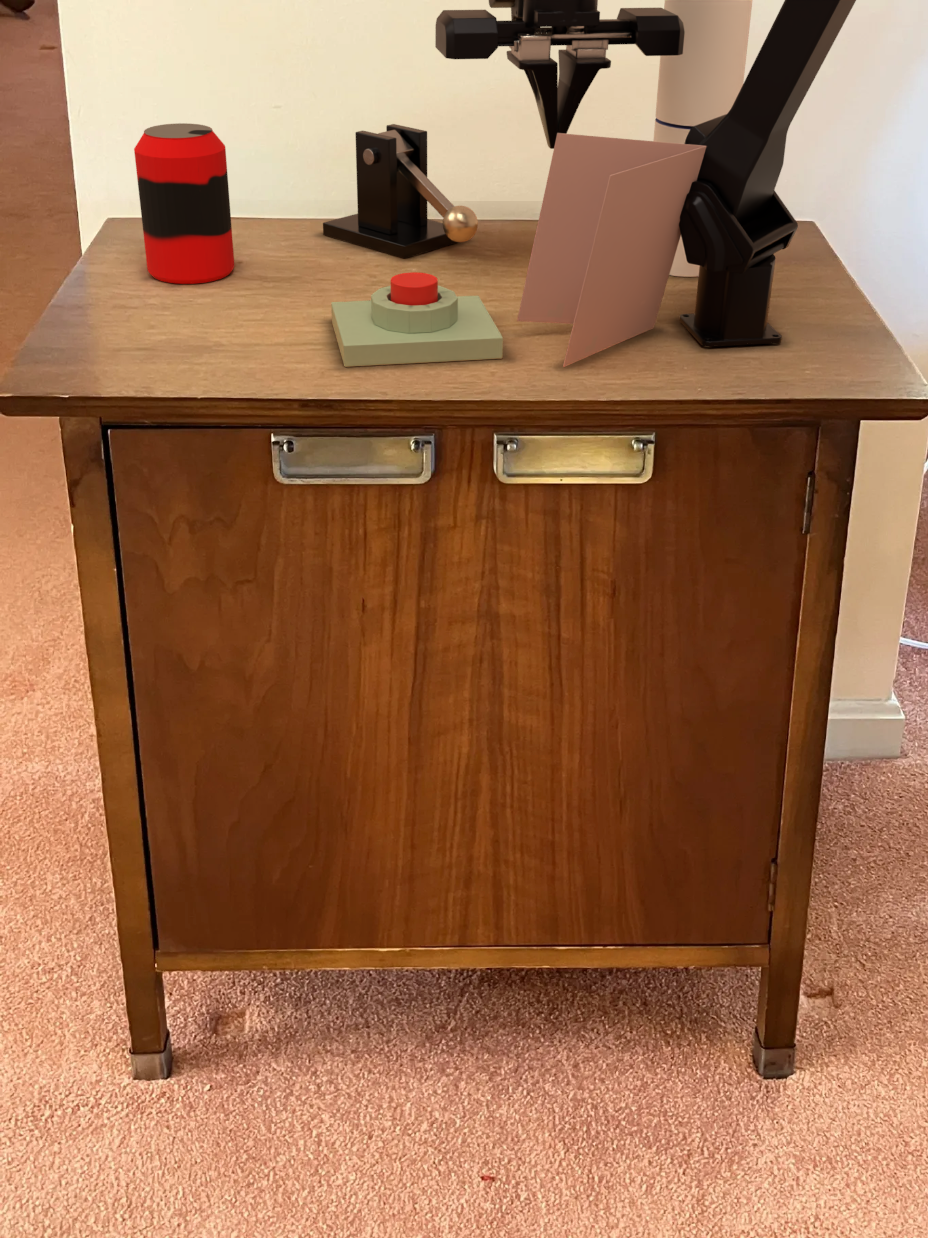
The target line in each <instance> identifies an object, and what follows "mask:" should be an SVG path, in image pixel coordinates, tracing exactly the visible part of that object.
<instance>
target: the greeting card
mask: <svg viewBox="0 0 928 1238" xmlns="http://www.w3.org/2000/svg"><path fill="white" fill-rule="evenodd" d="M705 150H706V146H702V145H690V144H679V143H667V142H656V141H654V140H642V139H630V138H619V137H607V136H598V135H597V136H596V135H584V134H573V133H567V134H563V133H557V137H556V142H555V146H554V149H553V150H552V151H553V152H552V156H551V161H550V166H549V169H548V175H547V180H546V184H545V189H544V193H543V197H542V203H541V208H540V211H539V216H538V221H537V226H536V231H535V235H534V240H533V245H532V249H531V254H530V259H529V262H528V263H529V264H528V268H527V273H526V277H525V282H524V287H523V290H522V295H521V300H520V306H519V310H518V314H517V319H516V321H517V322H525V323H528V322H529V323H547V324H563V325H564V324H566V325H567V324H568V325H572V329H571V332H570V336H569V341H568V343H567V349H566V353H565V356H564V361H563V365H562V368H565V367H568V366H569V365H572V364H574V363H576V362H579V361H581V360H583V359H586V358H588V357H590V356H592V355H593V356H594V354H597V353H600V352H602V351H604V350H607V349H609V348H610V347H611V348H612V347H613V346H615V345H618V344H621V343H622V342H625V341H627V340H630V339H632V338H634V337H636V336H639V335H641V334H643V333H646V332H648V331H650V330H652V329H654V328H655V325H656V322H657V319H658V315H659V311H660V309H661V305H662V301H663V298H664V295H665V292H666V291H665V290H666V289H667V284H668V280H669V277H670V275H669V274H670V271H671V267H672V264H673V260H674V257H675V253H676V250H677V246H678V243H679V239H680V236H681V232H680V228H679V222H680V215H681V211H682V208H683V205H684V202H685V199H686V196H687V194H688V193H689V190H690V187H691V184H692V182H694V181H697V177H698V174H699V170H700V167H701V164H702V160H703V157H704V153H705Z"/></svg>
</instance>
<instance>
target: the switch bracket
mask: <svg viewBox="0 0 928 1238" xmlns="http://www.w3.org/2000/svg"><path fill="white" fill-rule="evenodd" d="M385 127H386V131H391V130H396V131H397V132H398V133H399V134H400V135H401V136H402V138H403V139H404V140H405V141H406V142H407V143H408V144H409V145H410V146H411V147H412V148H413V152H412V154H411V157H410V160H411V161H412V162H413V163H414V164H415V165H416V166H417V167H418V169H419V170H420V171H421V172H422V173H423V174H424V175H425V176H426V177H427V178H428V131H427V130H424V129H419V128H414V127H409V126H405V125H400V124H396V123H392V124H387V125H386V126H385ZM354 133H355V134H354V135H355V162H356V164H355V165H356V166H355V167H356V168H355V169H356V197H357V198H356V201H357V204H356V205H357V213H355V214H350V215H346V216H344V217H339V218H335V219H331V220H328V221H324V222H322V234H323V236H325V237H329V238H333V239H336V240H340V241H343V242H347V243H350V244H354V245H357V246H361V247H363V248H367V249H370V250H374V251H377V252H381V253H384V254H388V255H390V256H393V257H398V258H400V259H401V258H402V259H405V260H406V259H408V258H412V257H414V256H415V257H416V256H418V255H422V254H425V253H429V252H433V251H434V250H438V249H442V248H445V247H448V246H451V245H454V244H459V242H455V241H453V240H451V239H450V238H448V237H447V235H446V234H445V232H444V230H443V222H439V221H435V220H432V219H428V201H427V200H426V199H425V198H424V197H423V196H422V195H421V194H420V192H419V191H418V190H417V189H416V188H415V187H414V186H413V185H412V184H411V183H410V182H409V181H408V180H407V179H406V178H405V177H404V176H403V174H402V173H401V172H400V171H398V172H397V144H396V138H394V137H390V136H385V135H381V134H378V133H376V132H371V131H366V130H358V131H356V132H354Z"/></svg>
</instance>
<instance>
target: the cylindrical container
mask: <svg viewBox="0 0 928 1238" xmlns="http://www.w3.org/2000/svg"><path fill="white" fill-rule="evenodd" d="M752 7H753V0H664V7H663V9H665V10H667V11H669V12H671V13H674V14H676V15H678V17H679V18H680V19H681V21H682V22H683V25H684V31H685V34H684V45H683V54H681V55H675V56H659V66H658V67H659V68H658V82H657V92H656V93H657V94H656V107H655V120H654V130H653V141H656V142H667V143H679V144H684V143H685V140H686V137H687V135H688V133H689V131H690V129H691V127H693V126H695V125H698V124H701V123H704V122H706V121H709V120H712V119H714V118H717V117H720V116H722V115H725V114H727V113H728V112H729V111H730V109H731V108H732V106H733V104H734V102H735V100H736V98H737V96H738V94H739V92H740V90H741V88H742V86H743V84H744V82H745V72H746V71H745V70H746V64H747V63H746V62H747V54H748V44H749V36H750V35H749V34H750V25H751V17H752ZM699 267H700V266H699V265H694V264H689V263H688V262H687V259H686V255H685V250H684V246H683V241H682V237H681V236H680V239H679V243H678V246H677V250H676V253H675V257H674V260H673V264H672V267H671V271H670V274H669V276H675V277H682V278H683V277H685V278H686V277H687V278H688V277H691V278H694V277H696V278H697V277H698V276H699Z"/></svg>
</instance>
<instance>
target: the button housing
mask: <svg viewBox="0 0 928 1238" xmlns="http://www.w3.org/2000/svg"><path fill="white" fill-rule="evenodd" d="M330 310H331V311H330V312H331V313H330V314H331V324H332V328H333V331H334V336H335V338H336V342H337V345H338V349H339V353H340V355H341V359H342V363H343V366H344V367H345V368H351V367H352V368H353V367H368V366H370V367H371V366H386V365H389V366H391V365H409V364H425V363H427V364H428V363H442V362H443V363H445V362H462V361H465V362H466V361H483V360H499V359H501V360H502V359H503V358H504V357H503V356H504V337H503V334H502V333H501V332H500V330H499V328H498V327H497V325H496V323H495V321H494V320H493V317H492V316H491V314H490V313H489V311H488V309H487V307H486V306H485V304H484V302H483V300H482V299H481V297H480V295H458V296H457V293H455V291H454V290H452V289H449V288H447V287H444V286H441V285H439V284H438V302H435V303H431V304H428V305H415V306H410V305H403V304H396V303H394V302H392V301H391V285H388V286H384V287H379V288H378V289H377V290H375V291H374V292H373V293H372V294H371V295H370V300H349V301H346V300H345V301H331V302H330Z"/></svg>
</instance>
